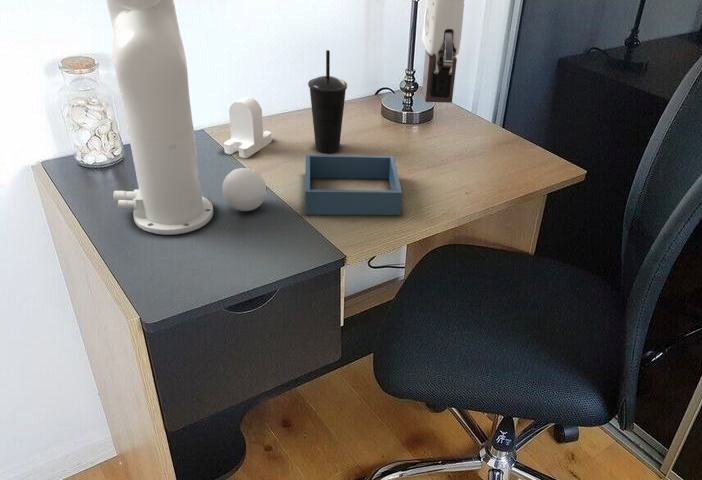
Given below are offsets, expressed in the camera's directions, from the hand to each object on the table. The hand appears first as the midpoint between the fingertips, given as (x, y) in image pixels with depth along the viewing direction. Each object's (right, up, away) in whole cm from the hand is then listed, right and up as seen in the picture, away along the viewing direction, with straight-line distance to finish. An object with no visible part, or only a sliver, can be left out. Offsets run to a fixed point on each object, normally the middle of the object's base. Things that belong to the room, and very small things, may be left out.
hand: (437, 89), depth 112 cm
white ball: (-34, -20, +2) cm, 39 cm away
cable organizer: (-38, -6, +21) cm, 44 cm away
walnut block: (0, -1, +1) cm, 1 cm away
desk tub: (-16, -17, +8) cm, 24 cm away
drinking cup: (-22, -5, +24) cm, 33 cm away
